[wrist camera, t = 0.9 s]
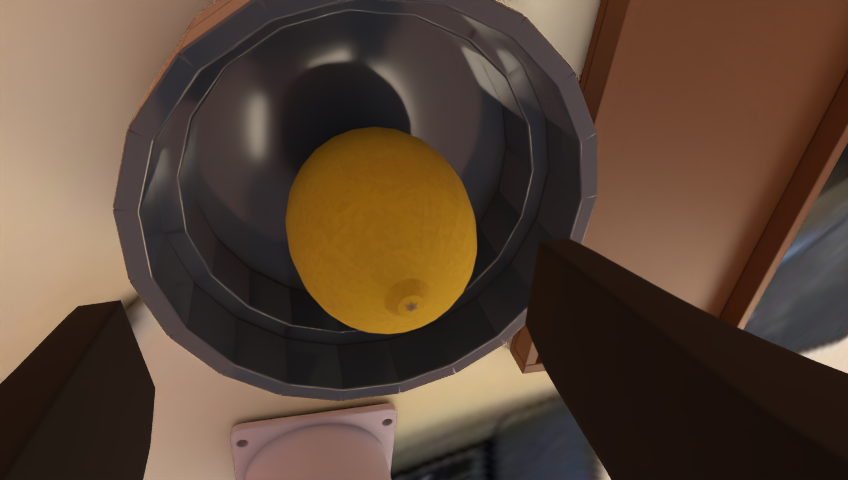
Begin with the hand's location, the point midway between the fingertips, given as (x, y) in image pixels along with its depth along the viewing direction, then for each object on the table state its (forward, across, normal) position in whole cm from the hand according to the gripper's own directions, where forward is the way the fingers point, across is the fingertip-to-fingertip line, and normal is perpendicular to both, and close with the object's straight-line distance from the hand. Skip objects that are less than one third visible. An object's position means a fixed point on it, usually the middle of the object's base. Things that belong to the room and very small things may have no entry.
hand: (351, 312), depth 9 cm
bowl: (+10, -2, +2) cm, 11 cm away
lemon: (+10, -2, +2) cm, 11 cm away
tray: (+10, -16, +5) cm, 20 cm away
